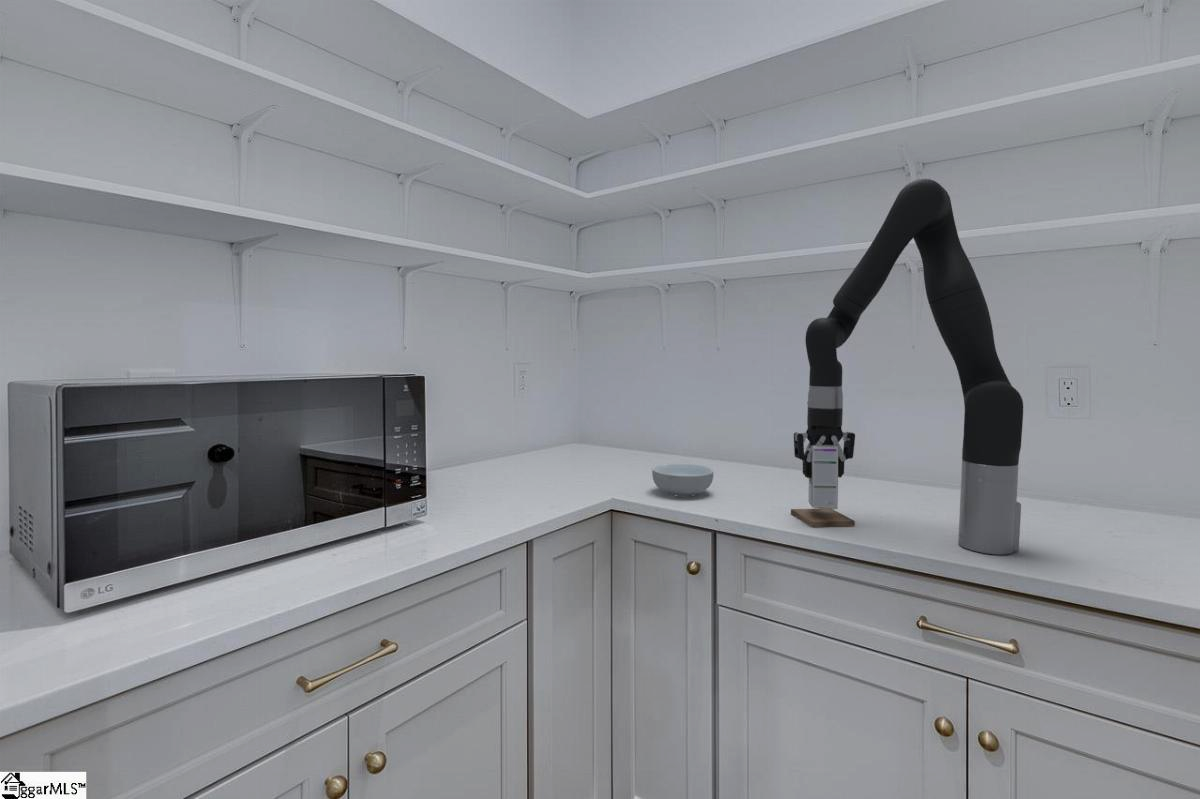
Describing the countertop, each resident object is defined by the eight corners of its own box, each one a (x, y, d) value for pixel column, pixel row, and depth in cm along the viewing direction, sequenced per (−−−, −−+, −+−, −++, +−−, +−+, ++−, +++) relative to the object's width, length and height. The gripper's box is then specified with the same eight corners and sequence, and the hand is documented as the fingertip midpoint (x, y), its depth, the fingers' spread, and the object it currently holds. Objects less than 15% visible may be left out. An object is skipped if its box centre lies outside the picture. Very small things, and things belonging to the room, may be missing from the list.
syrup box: (838, 509, 130) (840, 446, 129) (811, 508, 131) (812, 445, 130) (833, 503, 135) (835, 442, 134) (807, 502, 137) (808, 441, 136)
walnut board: (830, 512, 140) (830, 508, 139) (854, 526, 129) (854, 520, 129) (790, 514, 139) (790, 509, 138) (812, 527, 128) (812, 522, 128)
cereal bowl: (639, 493, 161) (639, 468, 160) (678, 484, 172) (678, 460, 171) (687, 504, 148) (687, 477, 147) (725, 494, 159) (725, 469, 159)
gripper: (802, 407, 127) (800, 481, 128) (863, 406, 129) (861, 479, 130) (788, 404, 135) (786, 474, 136) (846, 404, 136) (844, 473, 137)
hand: (823, 476), depth 133 cm, fingers closed on syrup box, 6 cm apart
